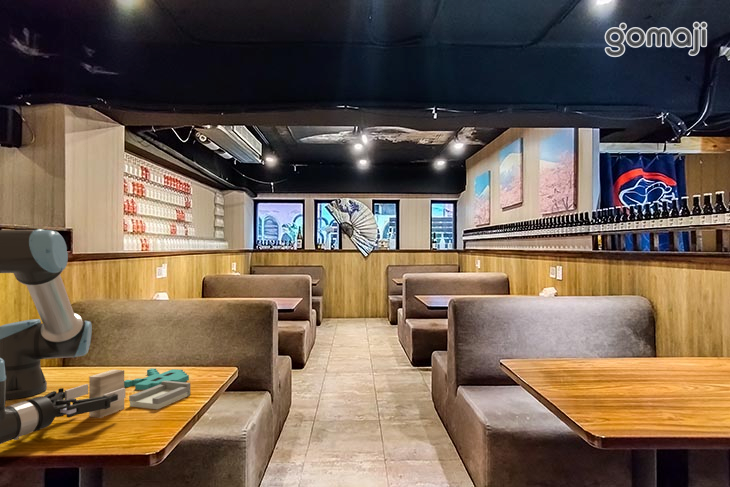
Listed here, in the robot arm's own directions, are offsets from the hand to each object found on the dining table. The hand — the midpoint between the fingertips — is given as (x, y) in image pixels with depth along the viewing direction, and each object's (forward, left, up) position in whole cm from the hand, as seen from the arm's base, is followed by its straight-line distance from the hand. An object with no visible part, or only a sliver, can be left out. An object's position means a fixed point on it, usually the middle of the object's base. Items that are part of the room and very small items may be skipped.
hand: (105, 390), depth 129 cm
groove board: (+7, +14, -6) cm, 17 cm away
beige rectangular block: (0, +1, -6) cm, 6 cm away
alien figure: (-10, +31, -7) cm, 33 cm away
